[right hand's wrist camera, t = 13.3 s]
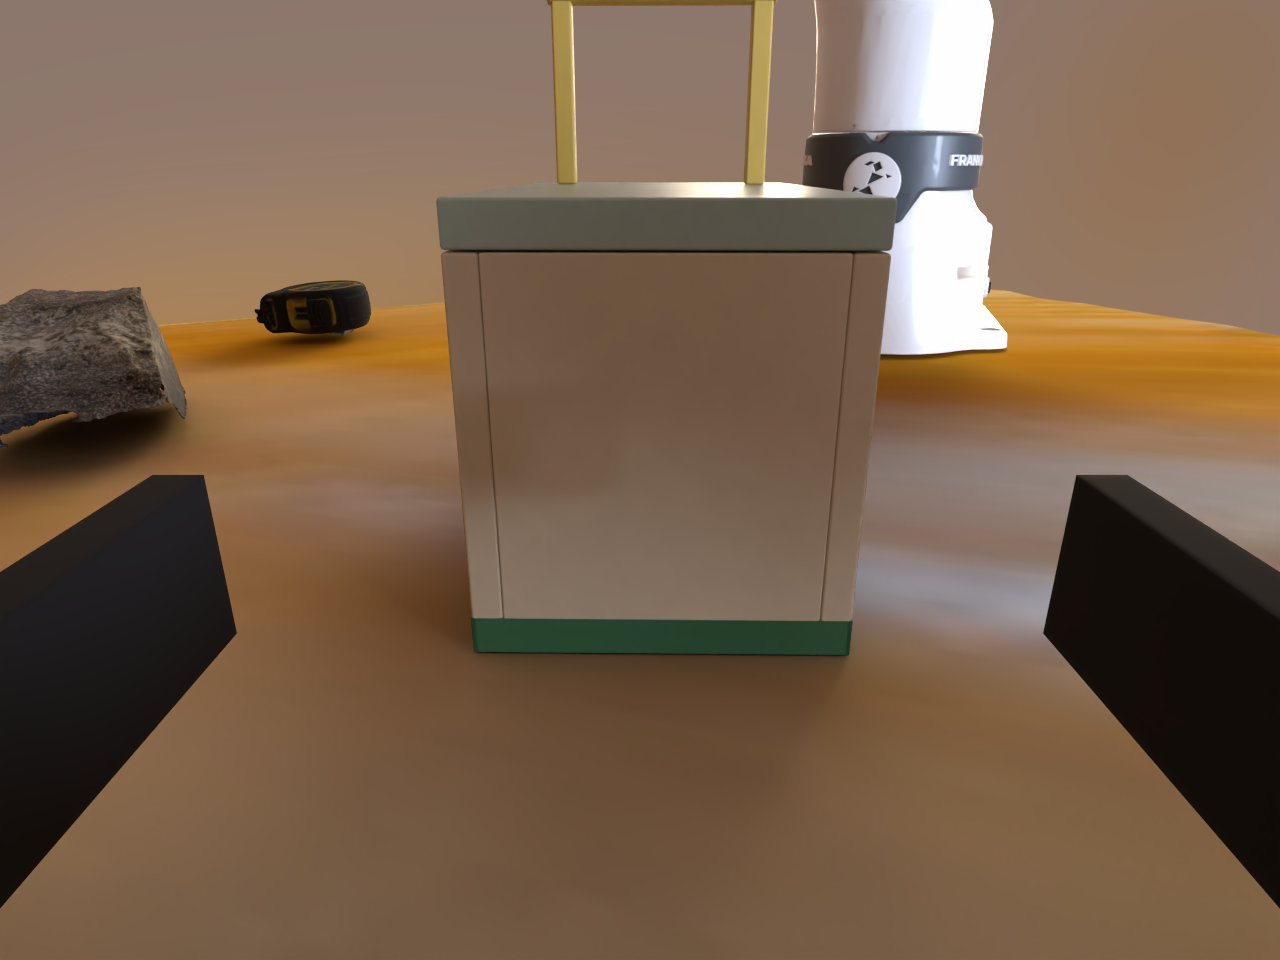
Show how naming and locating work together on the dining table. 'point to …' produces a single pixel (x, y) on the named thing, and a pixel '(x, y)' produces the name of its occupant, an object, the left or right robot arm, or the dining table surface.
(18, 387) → the rock
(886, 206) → the lid
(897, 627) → the dining table surface
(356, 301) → the tape measure
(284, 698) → the dining table surface
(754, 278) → the chest
